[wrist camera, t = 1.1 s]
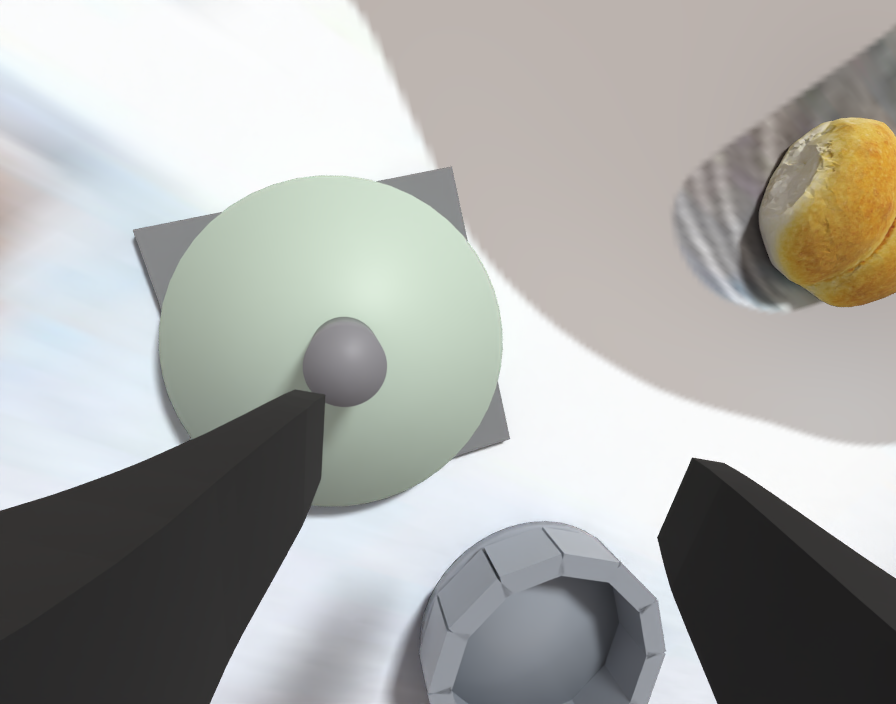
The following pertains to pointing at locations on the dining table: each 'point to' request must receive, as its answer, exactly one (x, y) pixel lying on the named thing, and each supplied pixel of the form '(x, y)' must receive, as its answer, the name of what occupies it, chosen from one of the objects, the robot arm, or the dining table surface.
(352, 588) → the dining table surface
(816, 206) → the bread roll
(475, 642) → the bowl
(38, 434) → the dining table surface
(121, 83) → the dining table surface
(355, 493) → the lid
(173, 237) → the mat
